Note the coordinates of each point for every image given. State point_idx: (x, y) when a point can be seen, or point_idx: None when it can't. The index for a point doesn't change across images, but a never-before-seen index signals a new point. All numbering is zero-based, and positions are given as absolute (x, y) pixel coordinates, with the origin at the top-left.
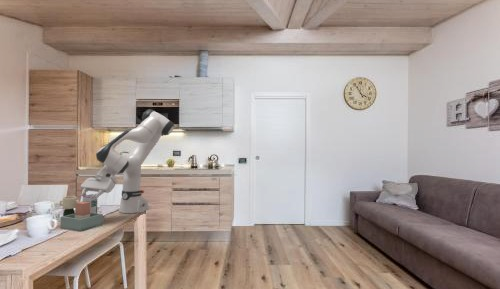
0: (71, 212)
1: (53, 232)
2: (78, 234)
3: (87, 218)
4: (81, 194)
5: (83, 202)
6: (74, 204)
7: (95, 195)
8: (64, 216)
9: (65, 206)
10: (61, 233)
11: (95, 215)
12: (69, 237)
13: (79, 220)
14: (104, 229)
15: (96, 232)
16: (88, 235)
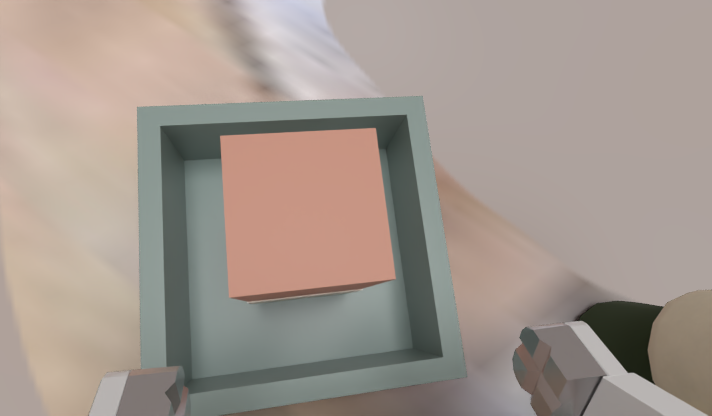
0: (624, 352)
1: (328, 49)
2: (113, 92)
3: (139, 186)
4: (578, 323)
5: (306, 213)
6: (689, 387)
7: (126, 384)
8: (407, 120)
9: (703, 295)
10: (255, 57)
11: (248, 382)
12: (109, 17)
13: (165, 110)
14: (24, 298)
15: (17, 196)
16: (11, 108)
